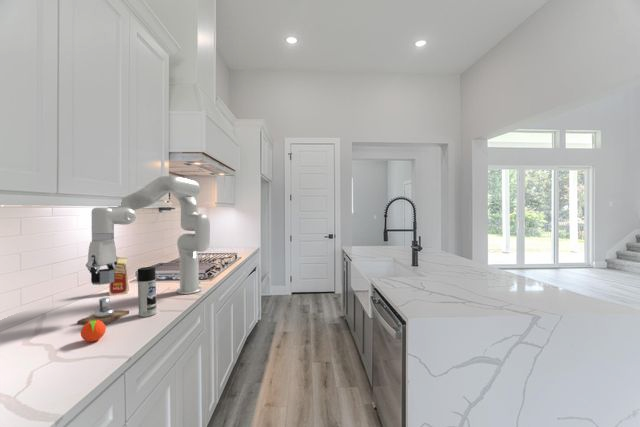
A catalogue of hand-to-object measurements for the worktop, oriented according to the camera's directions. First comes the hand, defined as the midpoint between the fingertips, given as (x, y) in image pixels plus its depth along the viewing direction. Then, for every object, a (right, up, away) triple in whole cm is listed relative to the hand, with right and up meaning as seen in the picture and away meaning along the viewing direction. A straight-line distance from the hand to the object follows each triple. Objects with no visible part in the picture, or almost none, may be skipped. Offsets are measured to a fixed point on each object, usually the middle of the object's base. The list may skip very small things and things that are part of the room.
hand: (103, 280), depth 126 cm
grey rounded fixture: (0, -15, 0) cm, 15 cm away
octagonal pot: (0, -1, 0) cm, 1 cm away
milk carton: (-19, -16, +40) cm, 47 cm away
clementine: (+12, -17, -21) cm, 29 cm away
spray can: (+15, -16, +5) cm, 23 cm away
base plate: (0, -16, 0) cm, 16 cm away
